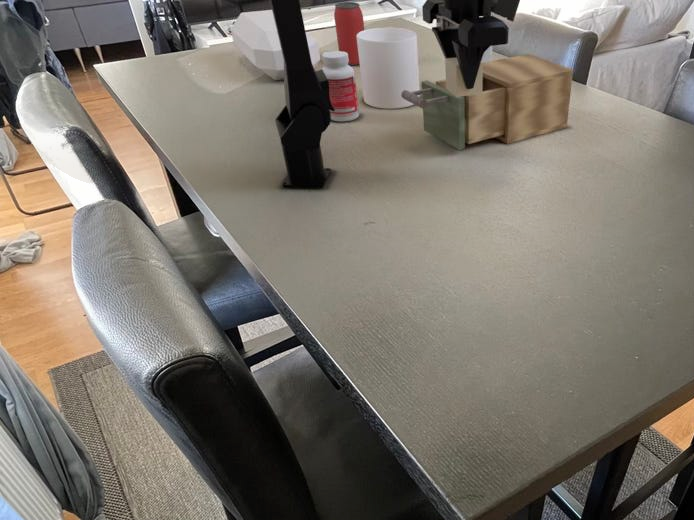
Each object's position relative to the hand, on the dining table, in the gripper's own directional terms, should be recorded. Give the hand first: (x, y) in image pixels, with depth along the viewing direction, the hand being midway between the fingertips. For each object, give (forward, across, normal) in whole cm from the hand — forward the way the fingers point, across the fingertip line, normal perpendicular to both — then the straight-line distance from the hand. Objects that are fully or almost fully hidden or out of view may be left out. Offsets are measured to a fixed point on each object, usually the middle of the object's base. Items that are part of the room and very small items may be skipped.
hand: (463, 84), depth 92 cm
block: (+1, 0, 0) cm, 1 cm away
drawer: (+11, +8, -3) cm, 14 cm away
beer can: (+12, +65, +1) cm, 66 cm away
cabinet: (+12, +11, -16) cm, 23 cm away
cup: (+12, +35, +2) cm, 37 cm away
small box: (+12, +35, -16) cm, 40 cm away
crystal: (+12, +68, +19) cm, 71 cm away
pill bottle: (+12, +28, +14) cm, 34 cm away
